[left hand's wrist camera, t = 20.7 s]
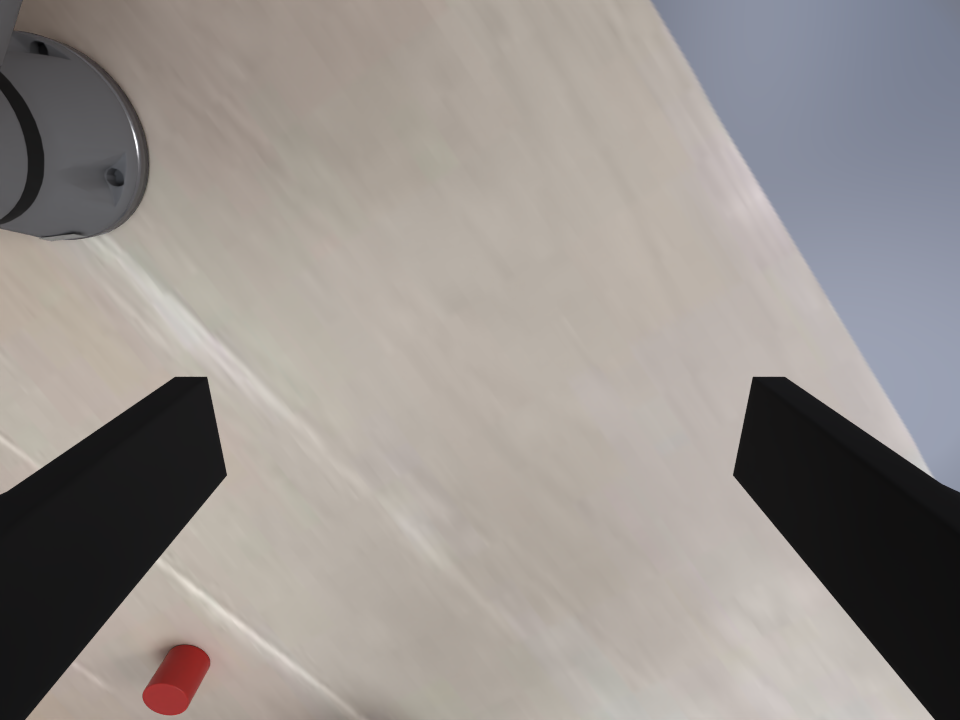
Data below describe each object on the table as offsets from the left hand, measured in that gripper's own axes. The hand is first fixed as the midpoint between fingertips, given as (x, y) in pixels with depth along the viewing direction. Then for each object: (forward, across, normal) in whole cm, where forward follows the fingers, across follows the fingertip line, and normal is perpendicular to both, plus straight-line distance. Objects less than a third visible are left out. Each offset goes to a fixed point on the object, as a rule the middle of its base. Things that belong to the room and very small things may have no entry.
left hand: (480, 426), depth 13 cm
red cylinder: (+34, -36, -50) cm, 70 cm away
